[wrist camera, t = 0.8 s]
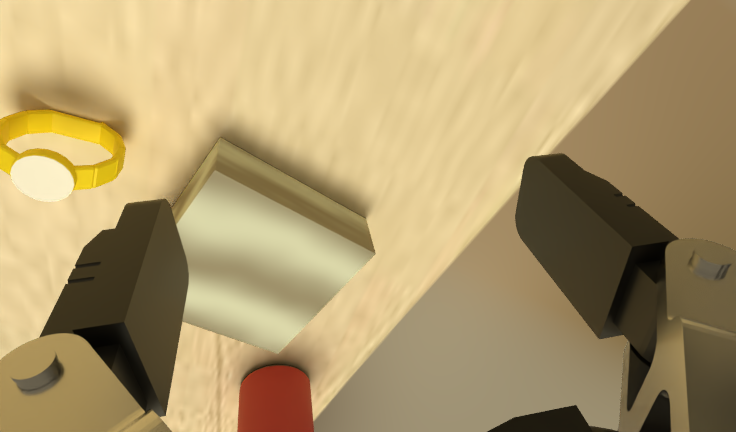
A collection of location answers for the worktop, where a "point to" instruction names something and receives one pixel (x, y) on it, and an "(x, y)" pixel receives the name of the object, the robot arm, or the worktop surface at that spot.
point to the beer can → (275, 401)
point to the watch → (57, 155)
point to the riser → (262, 249)
